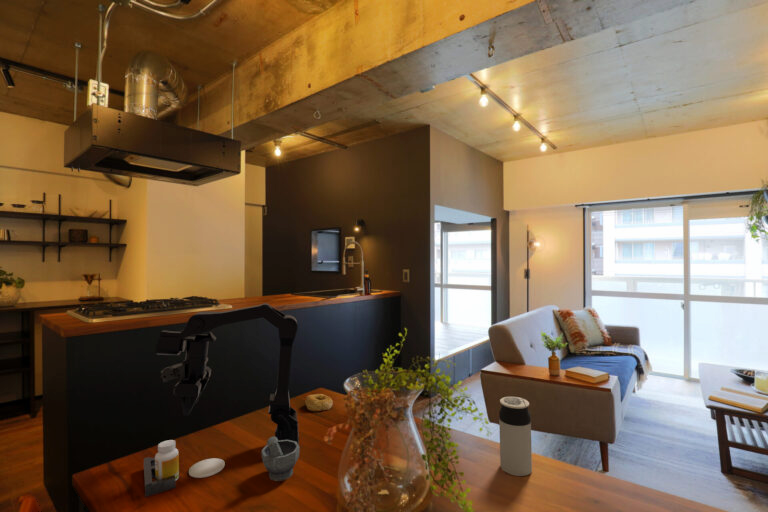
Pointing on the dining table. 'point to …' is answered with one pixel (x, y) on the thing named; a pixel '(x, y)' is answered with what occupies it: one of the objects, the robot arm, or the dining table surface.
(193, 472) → the coaster
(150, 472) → the rail
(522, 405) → the travel mug
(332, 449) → the dining table surface
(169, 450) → the supplement bottle
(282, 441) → the mortar and pestle
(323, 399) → the bagel
